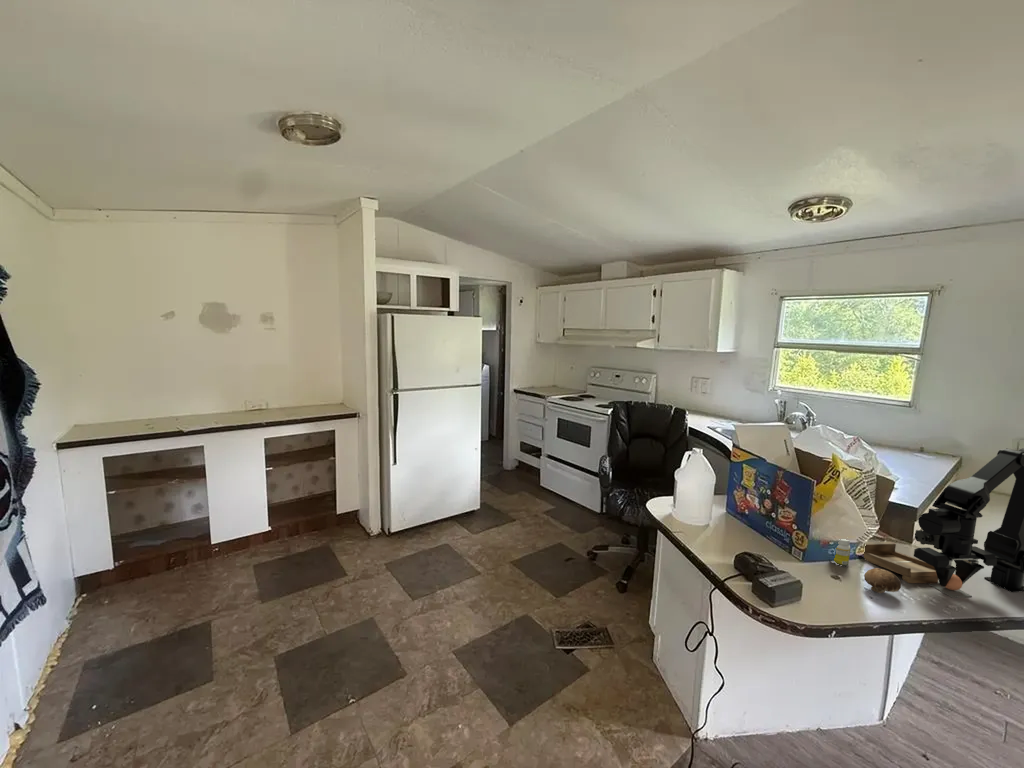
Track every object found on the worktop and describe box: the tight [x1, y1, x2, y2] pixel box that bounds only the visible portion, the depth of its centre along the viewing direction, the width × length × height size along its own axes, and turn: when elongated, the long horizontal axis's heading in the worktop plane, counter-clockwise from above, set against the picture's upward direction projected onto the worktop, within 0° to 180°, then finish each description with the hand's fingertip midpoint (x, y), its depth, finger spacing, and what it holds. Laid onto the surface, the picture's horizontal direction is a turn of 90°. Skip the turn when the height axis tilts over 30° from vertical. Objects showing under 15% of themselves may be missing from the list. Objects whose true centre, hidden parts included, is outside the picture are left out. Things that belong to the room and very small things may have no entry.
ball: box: [945, 573, 963, 590], centre depth 118 cm, size 4×4×4 cm
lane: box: [864, 541, 939, 584], centre depth 129 cm, size 11×16×5 cm
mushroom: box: [863, 567, 902, 594], centre depth 116 cm, size 8×8×6 cm
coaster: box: [927, 582, 973, 598], centre depth 118 cm, size 6×6×1 cm
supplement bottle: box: [834, 539, 851, 567], centre depth 131 cm, size 5×5×8 cm
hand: (950, 585), depth 118 cm, fingers closed on ball, 4 cm apart
